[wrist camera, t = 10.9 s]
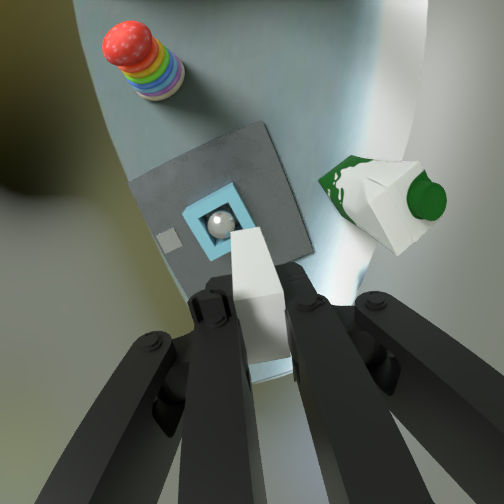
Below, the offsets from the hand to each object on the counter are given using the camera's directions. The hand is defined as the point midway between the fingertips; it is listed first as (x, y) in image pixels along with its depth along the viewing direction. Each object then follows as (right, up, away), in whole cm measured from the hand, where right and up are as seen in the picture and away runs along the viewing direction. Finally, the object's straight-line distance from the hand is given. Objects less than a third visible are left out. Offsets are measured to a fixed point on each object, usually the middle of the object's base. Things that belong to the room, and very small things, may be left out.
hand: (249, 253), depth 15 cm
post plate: (-4, +6, +28) cm, 29 cm away
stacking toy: (-14, +26, +20) cm, 35 cm away
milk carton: (+15, +11, +28) cm, 34 cm away
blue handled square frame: (-3, +2, +28) cm, 28 cm away
